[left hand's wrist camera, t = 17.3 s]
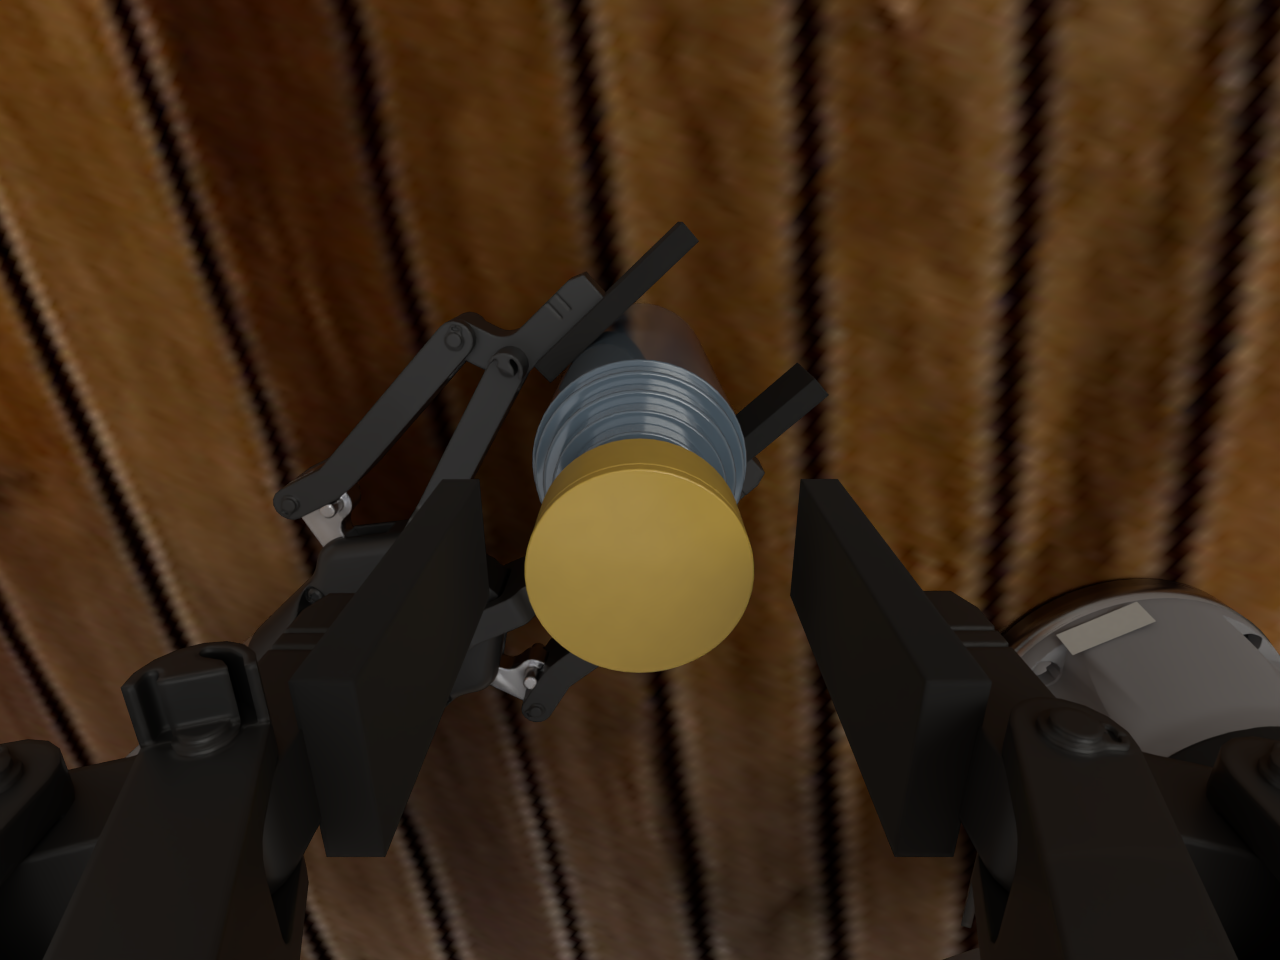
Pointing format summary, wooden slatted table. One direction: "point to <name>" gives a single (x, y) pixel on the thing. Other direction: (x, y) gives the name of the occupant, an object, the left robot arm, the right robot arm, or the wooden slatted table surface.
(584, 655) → the cap
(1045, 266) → the wooden slatted table surface
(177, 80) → the wooden slatted table surface
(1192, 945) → the left robot arm
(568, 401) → the bottle
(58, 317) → the wooden slatted table surface
